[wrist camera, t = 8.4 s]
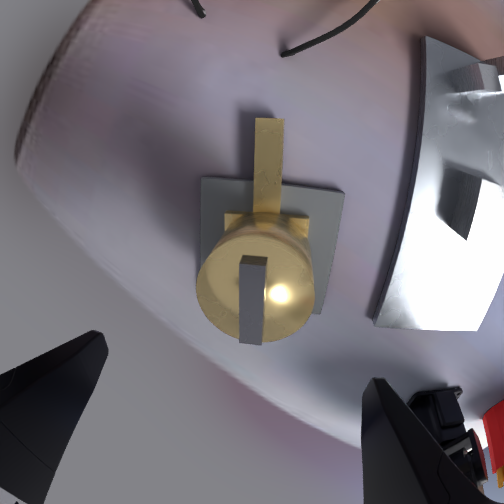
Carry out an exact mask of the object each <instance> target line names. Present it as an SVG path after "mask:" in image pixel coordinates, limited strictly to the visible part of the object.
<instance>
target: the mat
mask: <svg viewBox="0 0 504 504" xmlns="http://www.w3.org/2000/svg"><path fill="white" fill-rule="evenodd" d="M253 196H254V180H244V179H232V178H219V177H202V178H201V195H200V269H201V267H202V265H203V264H204V262H205V261H206V259H207V258H208V256H209V255H210V253H211V252H212V250H213V249H214V247H215V246H216V244H217V243H218V241H219V240H220V238H221V237H222V235H223V234H224V232H225V212H226V211H227V210H228V211H245V212H253ZM344 197H345V193H344V192H343V191H336V190H329V189H322V188H315V187H308V186H300V185H292V184H283V183H282V188H281V207H280V214H289V215H302V216H309V229H308V241H309V244H310V249H311V259H312V269H313V280H314V291H315V301H314V306H313V310H312V312H311V313H312V314H321V310H322V305H323V301H324V297H325V293H326V289H327V284H328V280H329V276H330V271H331V266H332V262H333V257H334V252H335V247H336V242H337V237H338V232H339V226H340V221H341V215H342V209H343V203H344Z"/></svg>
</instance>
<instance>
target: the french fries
mask: <svg viewBox="0 0 504 504" xmlns="http://www.w3.org/2000/svg"><path fill="white" fill-rule="evenodd" d="M483 424H484V428H485V432H486V437H487V442H488V447H489V453H490V458H491V465H492V472H493V474H494V473H496V472H497V481H498V487H499V488H501V487H503V486H504V485H503V482H504V400H503V401H501V402H499V403H498V404H496V405H495V406H493V407H492V408H491V409H489V410H488V411H487V412H486V413H485V414H484V417H483Z"/></svg>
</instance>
